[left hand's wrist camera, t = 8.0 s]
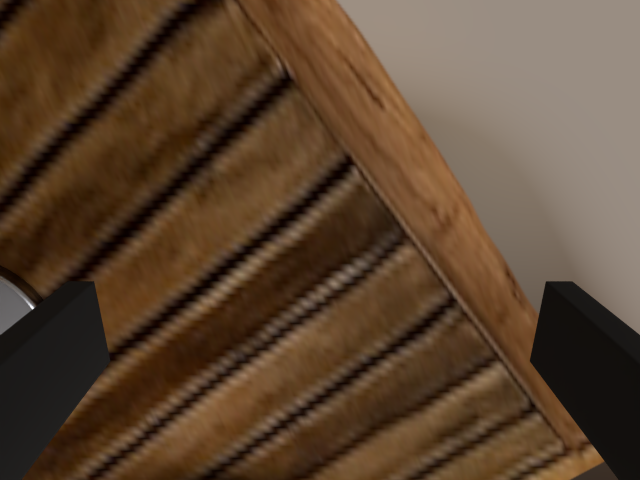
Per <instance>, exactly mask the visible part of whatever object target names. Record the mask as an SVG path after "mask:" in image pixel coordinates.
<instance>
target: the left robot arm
mask: <svg viewBox="0 0 640 480" xmlns="http://www.w3.org/2000/svg"><path fill="white" fill-rule="evenodd" d="M109 362H110V358H109V353H108V348H107V343H106V338H105V333H104V328H103V323H102V318H101V313H100V308H99V304H98V299H97V294H96V289H95V284H94V281H68V282H66V283H65V284H64V285H63V286H61V287H60V288H59V289H58V290H56V291H55V292H54V293H53V294H51V295H50V296H49V297H47V298H46V299H45V300H43V299H42V298H41V296H40V295H39V294H38V293H37V292H36V291H35V290H34V289H33V288H32V287H31V286H30V285H29V284H28V283H26V282H25V281H24V280H23V279H21V278H20V277H18V276H17V275H15V274H14V273H12V272H11V271H9V270H7V269H5V268H3V267H1V266H0V480H22V478H23V477H24V476H25V474H26V473H27V472H28V470H29V469H30V467H31V466H32V465H33V463H34V462H35V461H36V459H37V458H38V457H39V455H40V454H41V453H42V451H43V450H44V449H45V447H46V446H47V445H48V443H49V442H50V441H51V439H52V438H53V437H54V435H55V434H56V433H57V431H58V430H59V429H60V427H61V426H62V425H63V423H64V422H65V421H66V419H67V418H68V417H69V415H70V414H71V413H72V411H73V410H74V409H75V407H76V406H77V405H78V403H79V402H80V401H81V399H82V398H83V397H84V395H85V394H86V393H87V391H88V390H89V389H90V387H91V386H92V385H93V383H94V382H95V381H96V379H97V378H98V377H99V375H100V374H101V373H102V371H103V370H104V369H105V367H106V366H107V365H108V363H109ZM530 362H531V363H532V365H533V366H534V367H535V369H536V370H537V371H538V373H539V374H540V375H541V377H542V378H543V379H544V381H545V382H546V383H547V385H548V386H549V387H550V389H551V390H552V391H553V393H554V394H555V395H556V397H557V398H558V399H559V401H560V402H561V403H562V405H563V406H564V407H565V409H566V410H567V411H568V413H569V414H570V415H571V417H572V418H573V419H574V421H575V422H576V423H577V425H578V426H579V427H580V429H581V430H582V431H583V433H584V434H585V435H586V437H587V438H588V439H589V441H590V442H591V443H592V445H593V446H594V447H595V449H596V450H597V451H598V453H599V454H600V455H601V457H602V458H603V459H604V461H605V462H606V463H607V465H608V466H609V467H610V469H611V470H612V472H613V473H614V474H615V476H616V477H617V478H618V480H640V335H639V334H638V333H637V332H635V331H634V330H633V329H632V328H630V327H629V326H628V325H627V324H625V323H624V322H623V321H621V320H620V319H619V318H618V317H616V316H615V315H614V314H613V313H611V312H610V311H609V310H608V309H606V308H605V307H604V306H603V305H601V304H600V303H599V302H598V301H596V300H595V299H594V298H593V297H591V296H590V295H589V294H587V293H586V292H585V291H584V290H582V289H581V288H580V287H579V286H577V285H576V284H575V283H574V282H570V281H568V282H567V281H562V282H561V281H560V282H559V281H557V282H555V281H550V282H549V281H547V282H546V284H545V289H544V294H543V299H542V304H541V308H540V313H539V318H538V323H537V328H536V333H535V338H534V343H533V348H532V353H531V358H530Z"/></svg>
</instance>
